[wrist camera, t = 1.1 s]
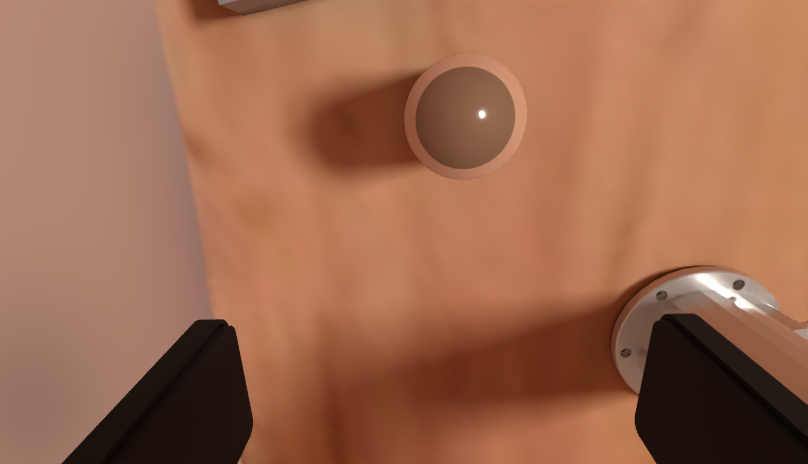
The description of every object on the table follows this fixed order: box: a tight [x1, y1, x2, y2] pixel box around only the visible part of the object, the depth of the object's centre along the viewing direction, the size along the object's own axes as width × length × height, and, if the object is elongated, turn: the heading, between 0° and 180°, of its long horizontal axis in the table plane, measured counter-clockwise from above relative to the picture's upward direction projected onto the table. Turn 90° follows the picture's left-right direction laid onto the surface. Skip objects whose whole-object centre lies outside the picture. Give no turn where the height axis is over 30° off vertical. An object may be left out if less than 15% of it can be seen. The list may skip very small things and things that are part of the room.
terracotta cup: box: [404, 54, 527, 180], centre depth 25 cm, size 6×6×8 cm
